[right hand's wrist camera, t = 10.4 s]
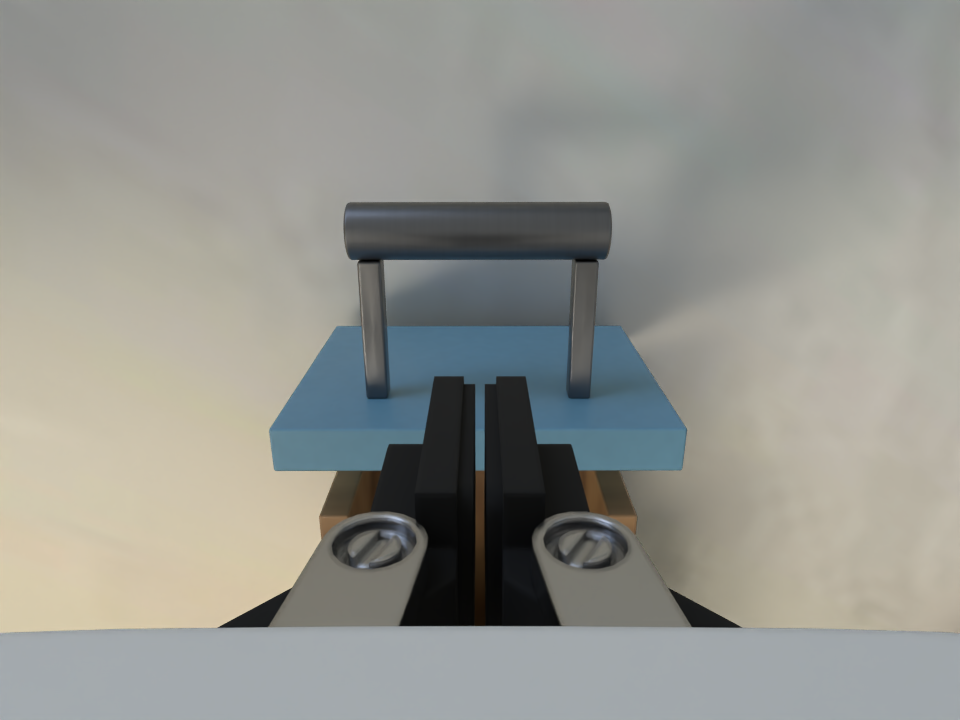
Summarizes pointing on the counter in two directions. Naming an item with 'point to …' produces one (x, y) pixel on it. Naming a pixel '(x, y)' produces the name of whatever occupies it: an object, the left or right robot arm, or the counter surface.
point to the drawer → (477, 362)
